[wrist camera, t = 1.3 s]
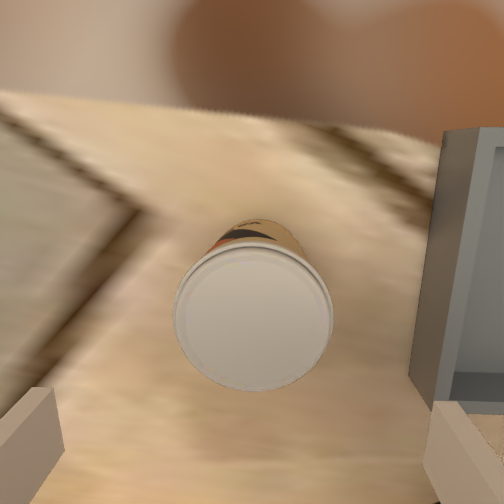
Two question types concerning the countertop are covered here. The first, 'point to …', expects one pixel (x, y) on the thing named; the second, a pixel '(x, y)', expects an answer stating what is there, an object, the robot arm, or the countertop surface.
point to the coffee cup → (253, 310)
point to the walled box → (464, 278)
